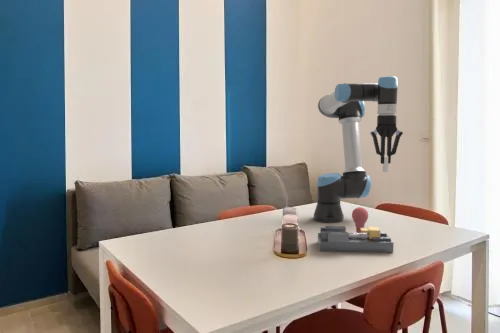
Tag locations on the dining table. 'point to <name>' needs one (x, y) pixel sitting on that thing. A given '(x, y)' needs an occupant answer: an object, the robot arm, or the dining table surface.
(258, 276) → the dining table surface
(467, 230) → the dining table surface
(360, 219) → the light bulb
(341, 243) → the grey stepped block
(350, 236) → the light grey flat bar
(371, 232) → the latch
